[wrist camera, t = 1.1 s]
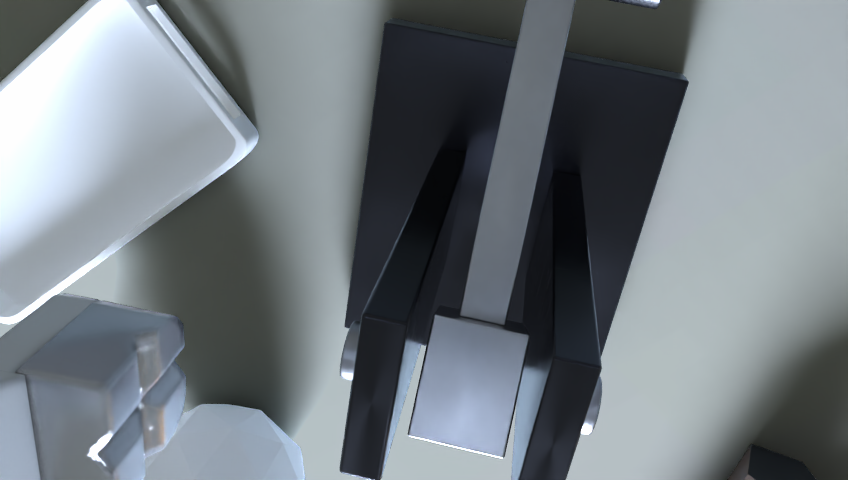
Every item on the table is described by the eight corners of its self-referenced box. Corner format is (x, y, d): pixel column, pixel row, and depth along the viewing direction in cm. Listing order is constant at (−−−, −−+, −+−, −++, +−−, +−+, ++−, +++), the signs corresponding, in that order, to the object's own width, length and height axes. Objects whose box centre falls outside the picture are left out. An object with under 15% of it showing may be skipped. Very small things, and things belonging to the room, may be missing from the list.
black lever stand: (391, 17, 25) (255, 111, 14) (683, 73, 24) (801, 222, 13) (351, 312, 30) (228, 562, 19) (591, 366, 29) (616, 661, 18)
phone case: (26, 315, 33) (267, 140, 28) (5, 331, 32) (253, 151, 26) (-97, 185, 31) (135, -29, 26) (-124, 196, 30) (114, -26, 25)
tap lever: (461, -60, 19) (458, -104, 16) (657, -24, 18) (684, -64, 16) (363, 399, 19) (346, 422, 16) (555, 444, 18) (566, 474, 16)
